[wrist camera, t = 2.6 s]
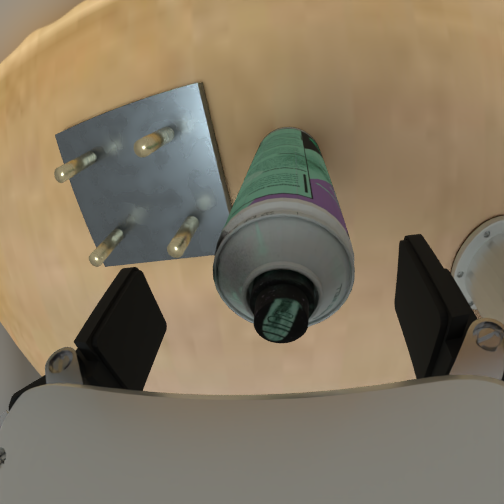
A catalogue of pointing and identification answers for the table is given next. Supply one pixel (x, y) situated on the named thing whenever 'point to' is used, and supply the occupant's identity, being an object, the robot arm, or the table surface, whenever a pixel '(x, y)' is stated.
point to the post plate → (148, 179)
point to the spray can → (285, 241)
